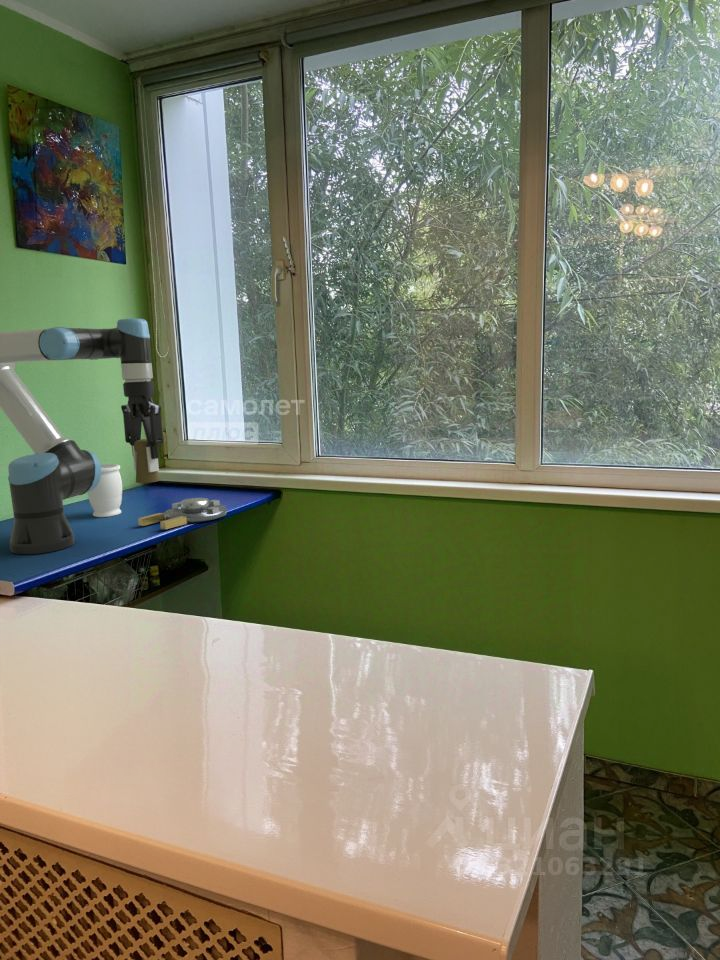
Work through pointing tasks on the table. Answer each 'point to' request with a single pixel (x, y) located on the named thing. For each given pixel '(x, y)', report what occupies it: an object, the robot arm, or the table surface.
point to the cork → (143, 464)
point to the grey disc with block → (186, 513)
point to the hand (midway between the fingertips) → (146, 470)
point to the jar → (107, 492)
